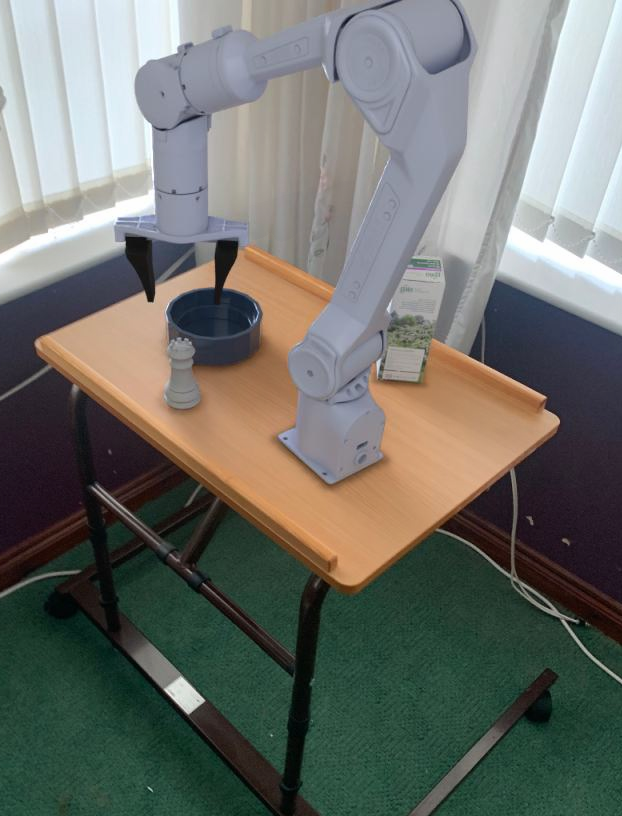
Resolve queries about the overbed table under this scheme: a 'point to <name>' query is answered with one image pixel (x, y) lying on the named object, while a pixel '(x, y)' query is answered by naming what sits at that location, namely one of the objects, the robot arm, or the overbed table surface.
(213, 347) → the bowl
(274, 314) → the overbed table surface
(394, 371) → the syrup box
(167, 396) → the rook chess piece
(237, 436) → the overbed table surface
